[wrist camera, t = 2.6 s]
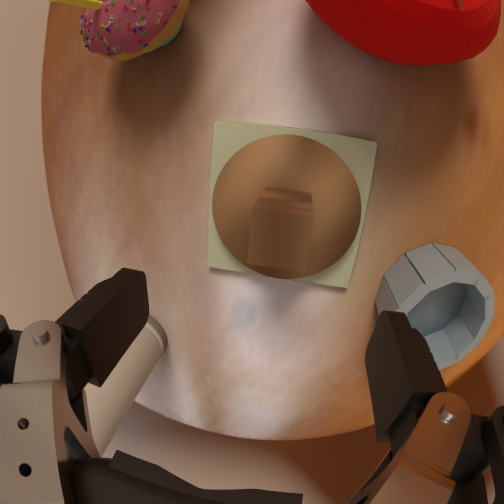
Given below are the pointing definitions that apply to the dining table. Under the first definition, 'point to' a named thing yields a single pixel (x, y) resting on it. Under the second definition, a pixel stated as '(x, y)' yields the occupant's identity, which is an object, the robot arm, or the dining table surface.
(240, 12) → the dining table surface
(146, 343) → the travel mug
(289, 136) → the lid
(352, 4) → the tomato
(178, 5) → the cupcake
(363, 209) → the trivet
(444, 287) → the bowl
